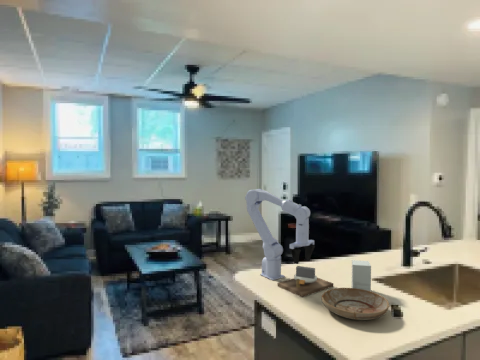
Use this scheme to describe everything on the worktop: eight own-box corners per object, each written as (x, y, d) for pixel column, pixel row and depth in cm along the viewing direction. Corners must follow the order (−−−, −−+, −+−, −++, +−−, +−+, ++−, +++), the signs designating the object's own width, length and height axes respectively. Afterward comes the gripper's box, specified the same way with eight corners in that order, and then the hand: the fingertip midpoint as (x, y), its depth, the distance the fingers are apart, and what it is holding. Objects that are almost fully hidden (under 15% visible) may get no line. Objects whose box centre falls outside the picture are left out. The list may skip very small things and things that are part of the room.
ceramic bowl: (336, 294, 139) (336, 282, 138) (396, 310, 124) (396, 297, 123) (310, 313, 121) (311, 300, 120) (377, 334, 106) (377, 319, 106)
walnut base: (277, 286, 147) (277, 275, 147) (308, 277, 159) (308, 267, 159) (302, 297, 135) (302, 285, 135) (333, 286, 147) (333, 276, 147)
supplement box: (368, 289, 144) (369, 260, 143) (370, 295, 137) (371, 265, 136) (351, 287, 146) (351, 259, 145) (352, 293, 139) (352, 264, 138)
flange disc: (297, 273, 154) (297, 263, 153) (319, 276, 149) (319, 266, 149) (290, 282, 143) (290, 270, 142) (313, 285, 138) (313, 274, 138)
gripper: (297, 236, 144) (297, 266, 145) (319, 232, 153) (319, 261, 154) (286, 233, 150) (286, 263, 151) (308, 230, 159) (307, 257, 159)
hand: (302, 261), depth 153 cm, fingers open, 7 cm apart
